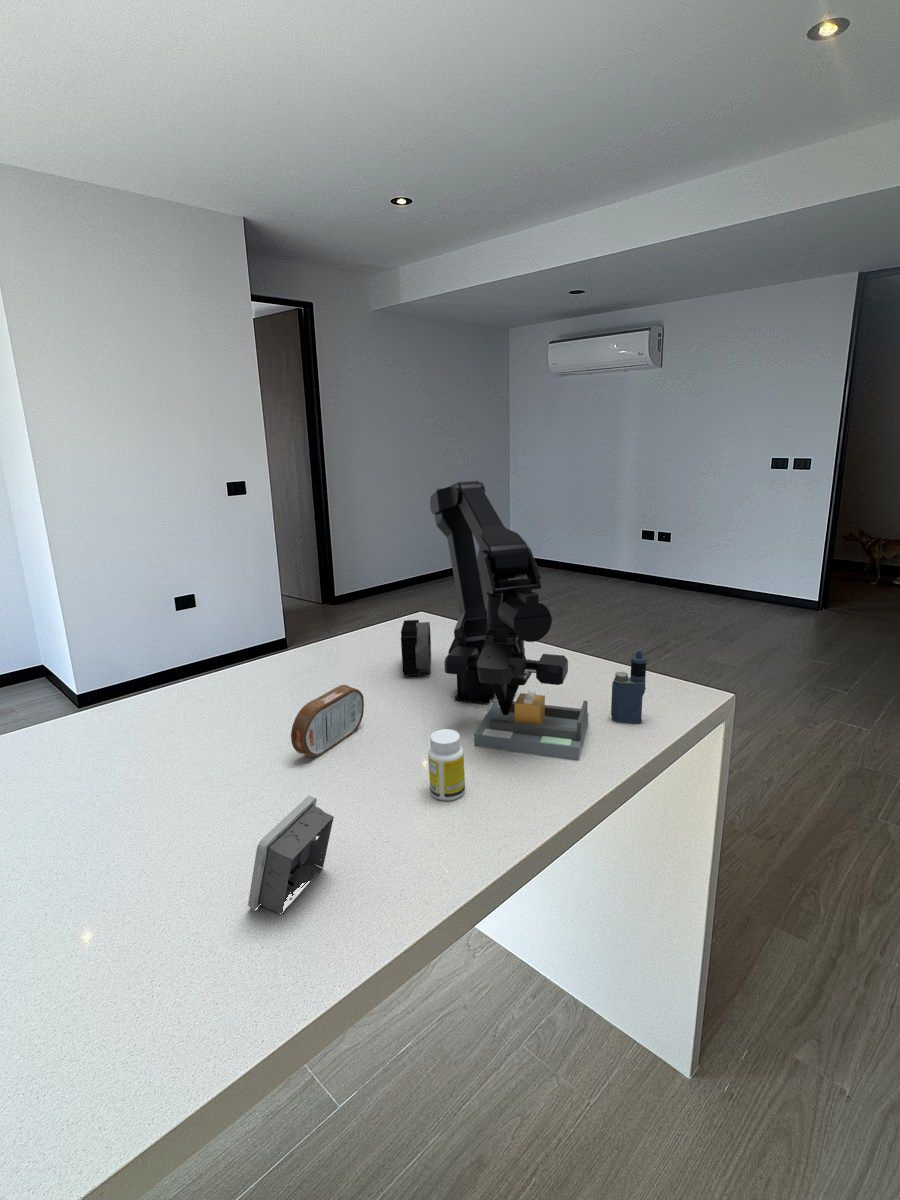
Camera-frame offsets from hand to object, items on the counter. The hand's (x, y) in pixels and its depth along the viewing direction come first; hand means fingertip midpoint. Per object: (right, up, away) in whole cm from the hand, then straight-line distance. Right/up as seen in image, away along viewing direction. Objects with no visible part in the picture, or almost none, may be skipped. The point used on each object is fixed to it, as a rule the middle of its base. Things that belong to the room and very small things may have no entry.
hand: (506, 714), depth 101 cm
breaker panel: (+4, -3, -1) cm, 5 cm away
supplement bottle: (-9, -8, -15) cm, 20 cm away
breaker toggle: (+4, -1, -1) cm, 4 cm away
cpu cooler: (-16, +4, +27) cm, 32 cm away
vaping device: (+20, -2, +3) cm, 21 cm away
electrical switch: (-26, -13, -32) cm, 43 cm away
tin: (-28, -5, -1) cm, 28 cm away
